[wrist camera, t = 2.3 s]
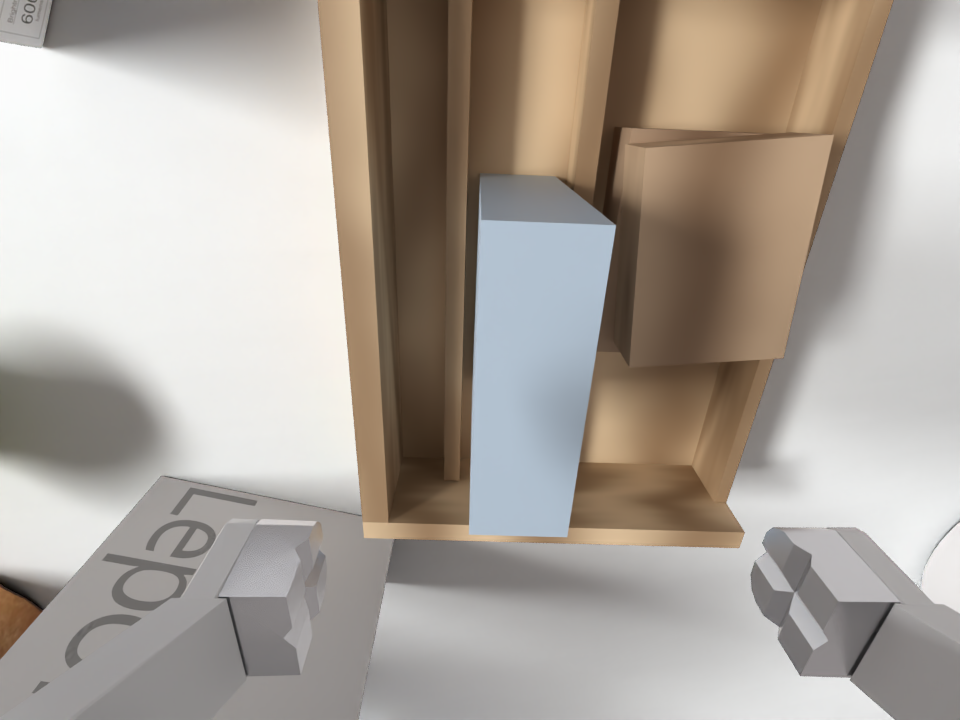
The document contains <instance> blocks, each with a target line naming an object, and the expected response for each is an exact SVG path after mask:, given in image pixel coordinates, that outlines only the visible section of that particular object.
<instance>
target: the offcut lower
mask: <svg viewBox="0 0 960 720" xmlns="http://www.w3.org/2000/svg"><path fill="white" fill-rule="evenodd" d="M759 134H772V133H749V132H726V131H703V130H680V129H656V128H633V127H615V130H614V137H613V144H612V151H611V158H610V165H609V172H608V179H607V186H606V193H605V200H604V207H603V215H604V216H605V217H606V218H608V219H609V220H610V221H611V222H613V223H614V224H615V225H616V230H615V236H614V242H613V249H612V255H611V261H610V268H609V274H608V280H607V287H606V293H605V300H604V306H603V312H602V319H601V325H600V331H599V338H598V344H597V352H620V351H619V349H618V348H617V346H616V344H615V343H614V330H615V313H616V295H617V278H618V261H619V244H620V226H621V209H622V192H623V174H624V157H625V144H632V143H647V142H661V141H675V140H689V139H703V138H717V137H731V136H745V135H759Z"/></svg>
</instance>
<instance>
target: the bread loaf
mask: <svg viewBox="0 0 960 720" xmlns="http://www.w3.org/2000/svg"><path fill="white" fill-rule="evenodd" d="M42 612H43V610H42V609H41V608H39V607H38V606H37V605H35V604H34V603H32V602H31V601H29V600H28V599H26V598H25V597H23V596H21V595H19V594H17V593H15V592H13V591H11V590H9V589H7V588H5V587H3V586H2V585H1V584H0V659H1V658H2V657H3V656H4V655H5V654H6V653H7V651H8V650H9V649H10V648H11V647H12V646H13V645H14V643H15V642H16V641H17V640H18V639H19V638H20V637H21V635H22V634H23V633H24V632H25V631H26V630H27V629H28V627H29V626H30V625H31V624H32V623H33V622H34V621H35V620H36V618H37V617H38V616H39V615H40V614H41V613H42Z"/></svg>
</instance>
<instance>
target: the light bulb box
mask: <svg viewBox="0 0 960 720" xmlns="http://www.w3.org/2000/svg"><path fill="white" fill-rule="evenodd" d="M51 5H52V0H0V42H6V43H11V44H17V45H22V46H29V47H35V48H42V46H43V43H44V38H45V34H46V29H47V24H48V20H49V15H50V10H51Z"/></svg>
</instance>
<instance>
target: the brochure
mask: <svg viewBox="0 0 960 720" xmlns="http://www.w3.org/2000/svg"><path fill="white" fill-rule="evenodd" d="M232 518H235V519H257V520H261V519H275V520H300V521H318V522H320V523H321V527H322V533H323V540H322V543H321V546H320V549H319V550H320V551H321V552H322V553H323V554H324V555H325V556H326V564H327V580H326V586H325V593H324V598H323V602H322V605H321V609H320V612H319V613H318V614H317V615H316V616H315V617H314V618H313V619H312V620H310V623H311V630H312V639H311V643H310V646H309V649H308V652H307V656H306V659H305V662H304V666H303V669H302V672H301V675H284V676H248V677H246V678H247V680H246V682H245V683H244V684H243V685H242V686H241V687H240V688H239V689H238V690H237V691H236V693H235V694H234V695H233V696H232V697H231V698H230V699H229V700H228V701H227V702H226V703H225V705H224V706H223V707H222V708H221V709H220V710H219V711H218V712H217V713H216V714H215V715H214V717H213V718H212V719H211V720H358V719H359V714H360V709H361V704H362V699H363V694H364V689H365V684H366V679H367V674H368V669H369V664H370V659H371V654H372V649H373V644H374V639H375V634H376V628H377V623H378V618H379V613H380V608H381V603H382V598H383V593H384V588H385V583H386V578H387V573H388V568H389V563H390V558H391V553H392V548H393V543H394V539H380V538H364V533H363V521H362V516H359V515H354V514H349V513H344V512H339V511H334V510H329V509H324V508H319V507H314V506H309V505H304V504H299V503H294V502H289V501H284V500H279V499H274V498H269V497H264V496H259V495H254V494H249V493H244V492H239V491H234V490H229V489H224V488H219V487H214V486H209V485H204V484H199V483H194V482H189V481H184V480H179V479H174V478H169V477H164V476H161V477H160V478H159V479H158V480H157V482H156V483H155V484H154V485H153V486H152V487H151V488H150V490H149V491H148V492H147V493H146V494H145V495H144V496H143V498H142V499H141V500H140V501H139V502H138V503H137V504H136V506H135V507H134V508H133V509H132V510H131V511H130V512H129V514H128V515H127V516H126V517H125V518H124V519H123V520H122V521H121V523H120V524H119V525H118V526H117V527H116V528H115V529H114V531H113V532H112V533H111V534H110V535H109V536H108V537H107V539H106V540H105V541H104V542H103V543H102V544H101V545H100V547H99V548H98V549H97V550H96V551H95V552H94V553H93V555H92V556H91V557H90V558H89V559H88V560H87V561H86V563H85V564H84V565H83V566H82V567H81V568H80V569H79V570H78V572H77V573H76V574H75V575H74V576H73V577H72V578H71V580H70V581H69V582H68V583H67V584H66V585H65V586H64V588H63V589H62V590H61V591H60V592H59V593H58V594H57V596H56V597H55V598H54V599H53V600H52V601H51V602H50V604H49V605H48V606H47V607H46V608H45V609H44V610H43V612H42V613H41V614H40V615H39V616H38V617H37V618H36V620H35V621H34V622H33V623H32V624H31V625H30V626H29V627H28V629H27V630H26V631H25V632H24V633H23V634H22V635H21V637H20V638H19V639H18V640H17V641H16V642H15V643H14V645H13V646H12V647H11V648H10V649H9V650H8V651H7V653H6V654H5V655H4V656H3V657H2V658H1V659H0V717H1V716H3V715H4V714H6V713H7V712H8V711H10V710H11V709H13V708H14V707H16V706H17V705H18V704H20V703H21V702H23V701H24V700H26V699H27V698H28V697H30V696H31V695H33V694H34V693H36V692H37V691H39V690H40V689H41V688H43V687H44V686H46V685H47V684H49V683H50V682H51V681H53V680H54V679H56V678H57V677H59V676H60V675H61V674H63V673H64V672H66V671H67V670H69V669H70V668H71V667H73V666H74V665H76V664H77V663H79V662H80V661H82V660H83V659H84V658H86V657H87V656H89V655H90V654H92V653H93V652H94V651H96V650H97V649H99V648H100V647H102V646H103V645H104V644H106V643H107V642H109V641H110V640H112V639H113V638H114V637H116V636H117V635H119V634H120V633H122V632H123V631H125V630H126V629H127V628H129V627H130V626H132V625H133V624H135V623H136V622H137V621H139V620H140V619H142V618H143V617H145V616H146V615H147V614H149V613H150V612H152V611H153V610H155V609H156V608H157V607H159V606H160V605H162V604H163V603H165V602H166V601H168V600H169V599H170V598H181V596H182V595H183V593H184V591H185V590H186V588H187V586H188V585H189V583H190V581H191V580H192V578H193V576H194V575H195V573H196V571H197V570H198V568H199V566H200V565H201V563H202V561H203V560H204V558H205V556H206V555H207V553H208V551H209V550H210V548H211V546H212V545H213V543H214V541H215V540H216V538H217V536H218V535H219V533H220V531H221V530H222V528H223V526H224V525H225V524H226V523H227V522H229V521H230V520H231V519H232Z"/></svg>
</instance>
